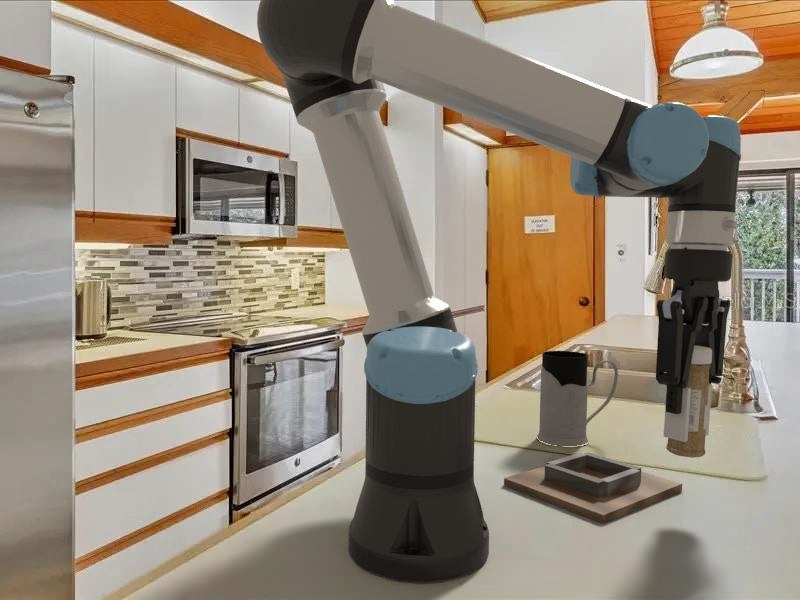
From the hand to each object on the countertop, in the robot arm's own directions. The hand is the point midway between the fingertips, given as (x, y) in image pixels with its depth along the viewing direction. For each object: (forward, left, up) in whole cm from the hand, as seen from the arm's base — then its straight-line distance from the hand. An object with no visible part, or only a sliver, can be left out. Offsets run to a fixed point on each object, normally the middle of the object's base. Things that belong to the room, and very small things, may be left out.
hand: (686, 435), depth 82 cm
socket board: (-3, +12, -10) cm, 15 cm away
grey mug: (+15, +28, -10) cm, 33 cm away
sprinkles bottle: (0, 0, -2) cm, 2 cm away
